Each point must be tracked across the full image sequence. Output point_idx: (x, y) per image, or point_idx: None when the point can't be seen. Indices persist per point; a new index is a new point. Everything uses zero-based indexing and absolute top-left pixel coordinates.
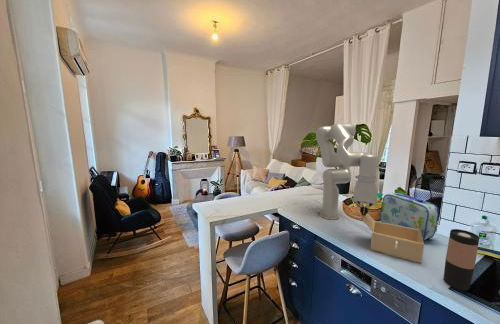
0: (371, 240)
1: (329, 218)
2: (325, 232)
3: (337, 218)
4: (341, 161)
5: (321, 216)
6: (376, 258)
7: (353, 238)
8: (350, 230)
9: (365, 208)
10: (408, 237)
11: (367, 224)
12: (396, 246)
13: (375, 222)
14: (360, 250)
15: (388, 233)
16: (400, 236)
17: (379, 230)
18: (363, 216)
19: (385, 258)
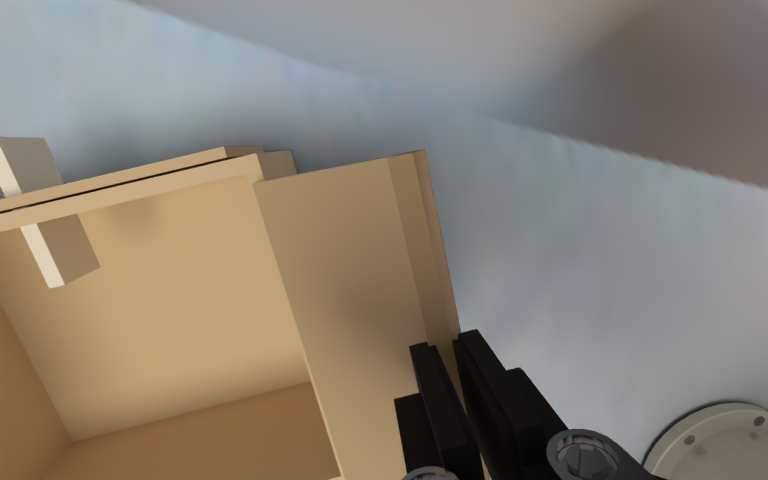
0: (275, 152)
1: (703, 415)
2: (657, 171)
3: (650, 462)
4: None
5: (764, 409)
6: (210, 48)
7: (450, 240)
8: (509, 352)
9: (454, 437)
10: (86, 475)
11: (317, 170)
12: (16, 139)
13: (335, 469)
14: (344, 82)
15: (232, 434)
16: (145, 454)
17: (300, 423)
18: (427, 299)
19: (162, 103)
